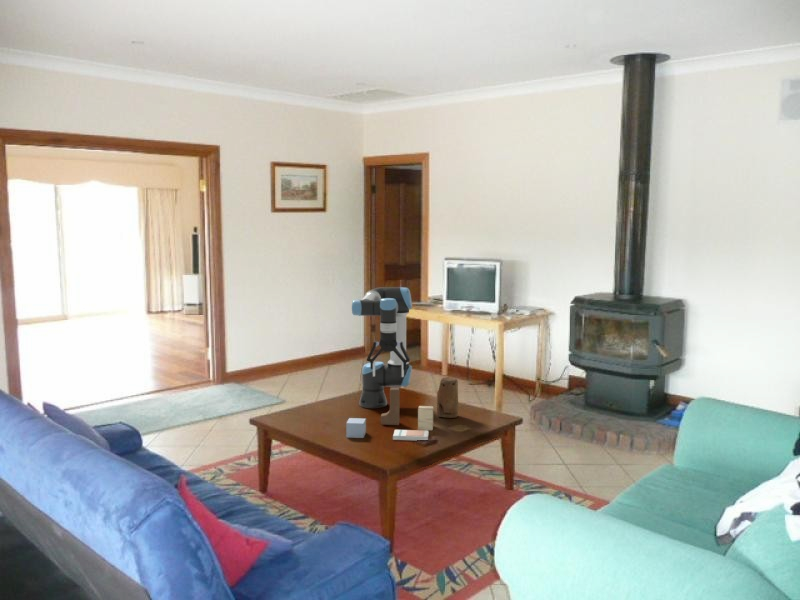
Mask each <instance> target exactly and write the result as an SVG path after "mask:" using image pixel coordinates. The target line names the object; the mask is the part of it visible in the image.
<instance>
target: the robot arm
mask: <svg viewBox="0 0 800 600" xmlns="http://www.w3.org/2000/svg"><path fill="white" fill-rule="evenodd" d="M412 303H413V301H412V295H411V291H410V289H409V288H408V287H405V286H404V287H402V286H394V287H393V286H392V287H391V286H390V287H389V286H388V287H387V286H382V287H381V286H380V287H376V288H373V289H370V290H368V291H367V292H366V293H364V296H363V297H362V299H354V300H353V301H352V303H351V313H352V315H353V316H358V317H361V316H362V317H363V316H367V317H368V316H372V317H373V316H374V317H378V316H379V317H380V320H379V323H380V324H379V329H380V332H379V333H380V334H379V335H380V336H379V338H380V340H379V341H376V340H374V342H373V344H372V347H371V350H370V351H369V354H368V356H367V358H366V361H367V362H368V363H365V364H364V365H363V366H362V373H361V374H362V375H361V376H362V377H361V378H362V379H361V381H362V386H361V387H362V390H361V391H362V392H361V395H360V399H359V401H358V402H359V404H358V405H359V407H361V408H364V409H381V408H384V407H387V405H388V399H387V397H386V394H385V391H384V390H385V387H388V388H389V387H390V388H391V387H392V388H405V387H406V388H407V387H409V386H410V382H411V375H412V367H413V366H412V365H411V364H410V361H411V358H410V356H409V355H408V353H407V316H408V314H410V310H412V309H413V305H412ZM378 346H379V347H380V349H379V350H378V351H377V352H376V353H375V354H374V352H375V350H376V348H377V347H378ZM382 352H388V353H389V352H390V353H389V354H390V355H389V357H390V358H389V360H388V361H387V364H385V363H384V362H383V361H375V360H376V359H377V358H378V356H379V355H380V354H381V353H382ZM373 354H374V356H373ZM372 356H373V357H372Z"/></svg>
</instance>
